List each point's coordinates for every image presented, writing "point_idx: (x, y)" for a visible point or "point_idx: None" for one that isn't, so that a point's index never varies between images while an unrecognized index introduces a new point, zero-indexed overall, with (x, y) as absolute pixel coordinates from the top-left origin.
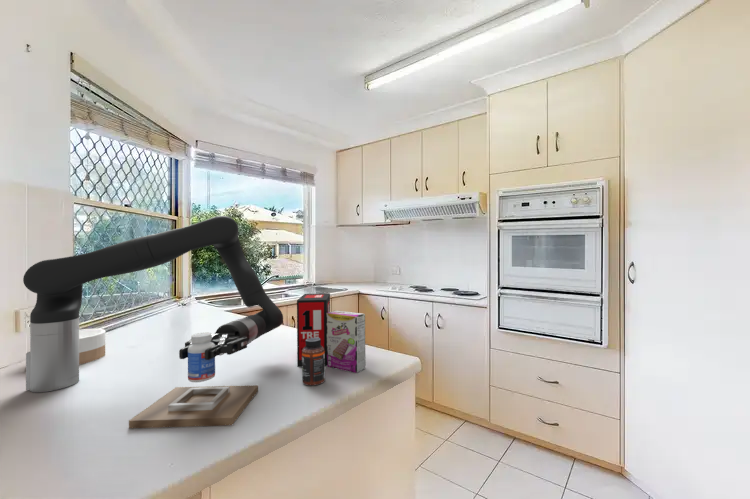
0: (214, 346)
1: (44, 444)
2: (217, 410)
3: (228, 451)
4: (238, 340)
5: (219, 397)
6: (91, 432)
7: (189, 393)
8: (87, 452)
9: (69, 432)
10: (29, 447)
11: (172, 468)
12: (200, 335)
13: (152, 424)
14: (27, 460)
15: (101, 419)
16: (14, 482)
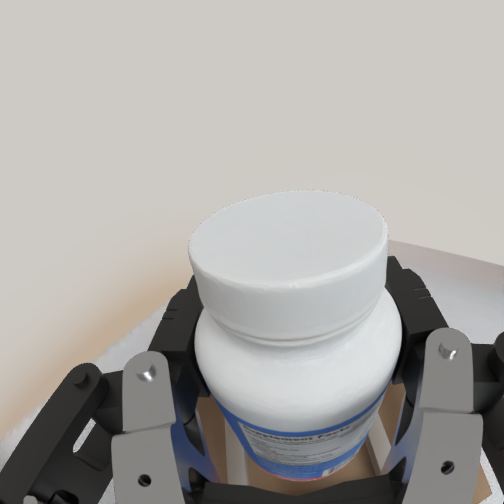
0: (179, 324)
1: (466, 277)
2: (210, 406)
3: (152, 321)
4: (27, 438)
5: (226, 447)
6: (450, 311)
7: (375, 461)
8: None
9: (480, 300)
10: (472, 269)
11: None
12: (271, 208)
13: None
14: (434, 259)
15: (492, 338)
16: (391, 243)
